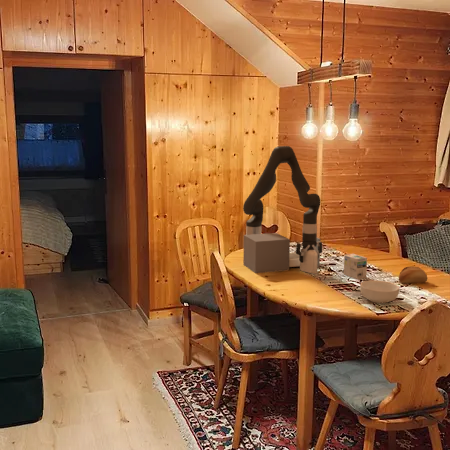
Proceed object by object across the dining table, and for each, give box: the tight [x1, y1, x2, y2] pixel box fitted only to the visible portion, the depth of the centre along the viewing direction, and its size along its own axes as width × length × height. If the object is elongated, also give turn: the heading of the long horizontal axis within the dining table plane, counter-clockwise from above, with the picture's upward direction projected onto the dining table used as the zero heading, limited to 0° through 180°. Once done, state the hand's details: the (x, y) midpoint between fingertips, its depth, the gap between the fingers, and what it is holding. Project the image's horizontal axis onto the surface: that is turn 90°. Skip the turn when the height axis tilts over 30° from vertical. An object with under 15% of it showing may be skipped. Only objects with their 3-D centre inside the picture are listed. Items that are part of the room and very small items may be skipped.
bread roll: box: [398, 266, 428, 284], centre depth 271 cm, size 10×15×8 cm, turn 104°
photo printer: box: [299, 250, 318, 275], centre depth 289 cm, size 10×4×12 cm, turn 39°
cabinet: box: [243, 232, 291, 274], centre depth 297 cm, size 18×20×17 cm
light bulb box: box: [343, 253, 368, 280], centre depth 281 cm, size 11×7×11 cm, turn 27°
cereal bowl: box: [359, 279, 400, 304], centre depth 243 cm, size 17×17×7 cm
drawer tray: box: [289, 237, 321, 268], centre depth 303 cm, size 18×20×16 cm
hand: (308, 261), depth 289 cm, fingers open, 8 cm apart
